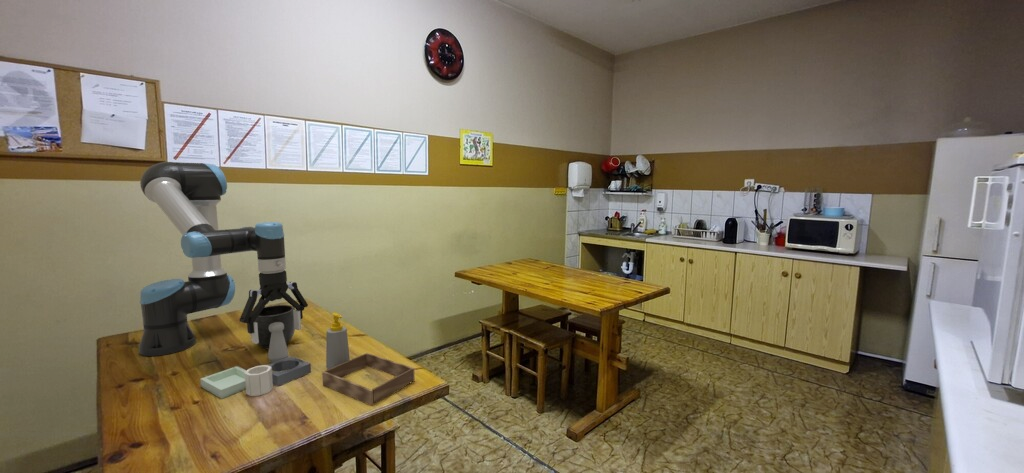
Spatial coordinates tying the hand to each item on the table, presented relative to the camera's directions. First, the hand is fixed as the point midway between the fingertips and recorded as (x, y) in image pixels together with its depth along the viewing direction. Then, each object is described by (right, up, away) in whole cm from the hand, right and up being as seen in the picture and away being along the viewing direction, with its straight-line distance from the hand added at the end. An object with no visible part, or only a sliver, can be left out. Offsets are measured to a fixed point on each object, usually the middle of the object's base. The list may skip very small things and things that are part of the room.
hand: (277, 335), depth 129 cm
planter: (-10, -7, +15) cm, 19 cm away
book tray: (+34, -11, -12) cm, 38 cm away
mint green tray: (-5, -11, -14) cm, 19 cm away
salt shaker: (0, -9, +1) cm, 9 cm away
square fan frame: (+7, -10, -8) cm, 14 cm away
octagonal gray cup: (+5, -11, -17) cm, 21 cm away
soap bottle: (+21, -10, -3) cm, 24 cm away
